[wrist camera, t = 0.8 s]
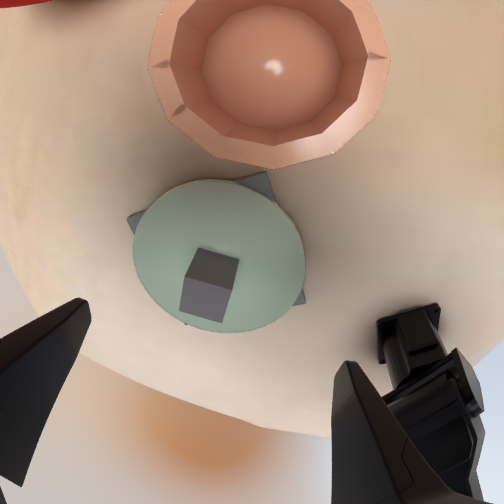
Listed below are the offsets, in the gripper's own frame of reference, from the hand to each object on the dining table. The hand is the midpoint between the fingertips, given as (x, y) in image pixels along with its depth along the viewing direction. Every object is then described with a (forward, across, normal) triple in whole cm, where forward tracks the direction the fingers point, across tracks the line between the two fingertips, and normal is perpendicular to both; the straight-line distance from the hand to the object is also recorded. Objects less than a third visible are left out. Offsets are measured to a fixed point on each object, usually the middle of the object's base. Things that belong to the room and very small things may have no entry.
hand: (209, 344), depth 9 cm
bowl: (+13, 0, -9) cm, 16 cm away
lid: (+12, +2, +5) cm, 13 cm away
